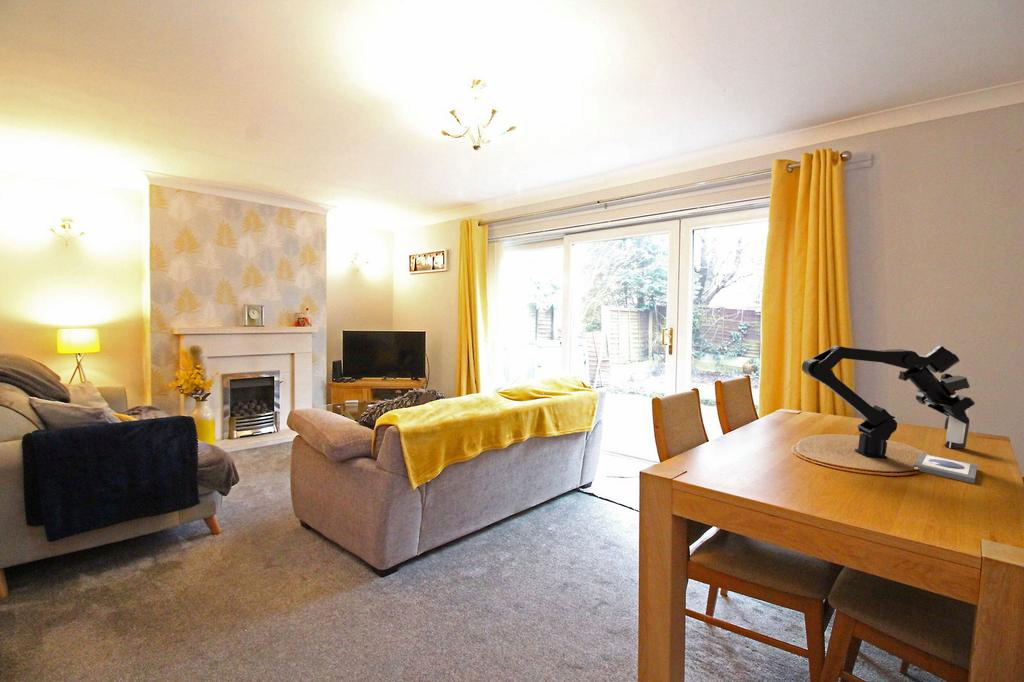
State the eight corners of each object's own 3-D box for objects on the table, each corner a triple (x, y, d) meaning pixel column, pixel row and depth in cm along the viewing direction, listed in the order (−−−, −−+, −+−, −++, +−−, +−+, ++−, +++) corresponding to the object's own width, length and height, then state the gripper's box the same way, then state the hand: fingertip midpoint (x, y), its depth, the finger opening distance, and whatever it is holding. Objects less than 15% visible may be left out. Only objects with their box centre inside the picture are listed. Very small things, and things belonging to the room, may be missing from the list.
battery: (953, 445, 171) (958, 413, 170) (966, 448, 168) (971, 416, 167) (939, 445, 170) (944, 414, 169) (952, 449, 166) (956, 417, 165)
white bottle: (948, 441, 148) (955, 397, 147) (943, 438, 152) (949, 395, 150) (965, 444, 146) (973, 399, 145) (960, 441, 150) (967, 397, 149)
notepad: (974, 483, 132) (974, 477, 132) (913, 469, 142) (914, 463, 141) (976, 469, 145) (977, 463, 145) (920, 457, 154) (921, 452, 154)
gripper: (971, 370, 138) (1011, 412, 137) (932, 362, 157) (966, 399, 155) (936, 394, 141) (974, 435, 140) (900, 383, 159) (934, 420, 158)
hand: (962, 421), depth 148 cm, fingers closed on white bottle, 4 cm apart
